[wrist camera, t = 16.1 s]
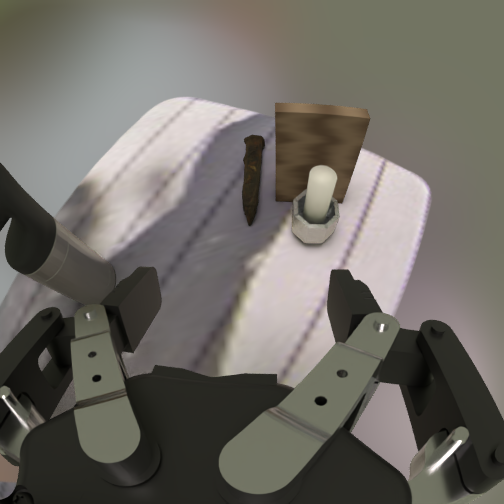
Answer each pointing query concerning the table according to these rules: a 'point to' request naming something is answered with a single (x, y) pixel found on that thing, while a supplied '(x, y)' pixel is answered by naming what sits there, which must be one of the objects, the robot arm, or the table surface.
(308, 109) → the wooden bookend
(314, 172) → the cream white cylinder
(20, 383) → the robot arm
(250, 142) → the hand tool
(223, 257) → the table surface
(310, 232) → the metal cup
